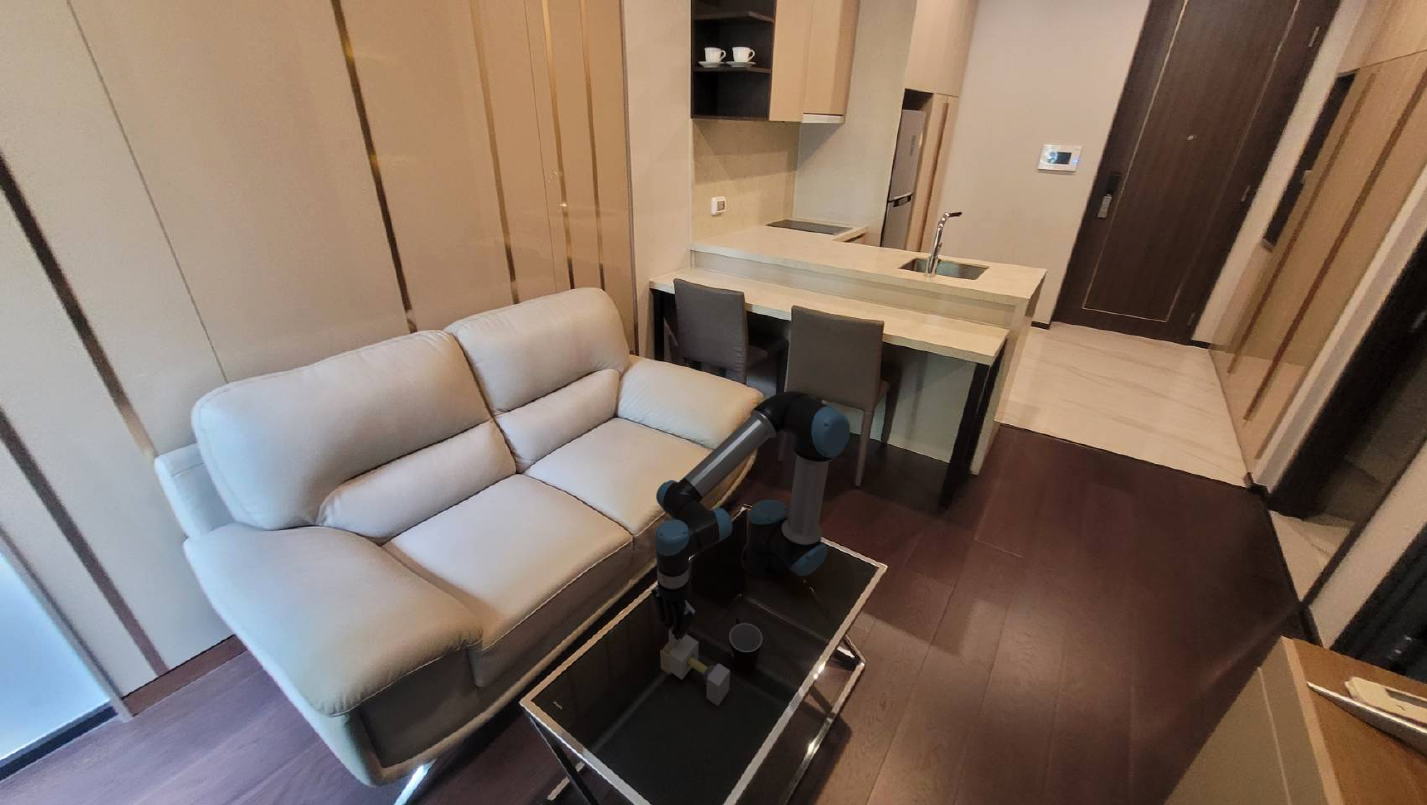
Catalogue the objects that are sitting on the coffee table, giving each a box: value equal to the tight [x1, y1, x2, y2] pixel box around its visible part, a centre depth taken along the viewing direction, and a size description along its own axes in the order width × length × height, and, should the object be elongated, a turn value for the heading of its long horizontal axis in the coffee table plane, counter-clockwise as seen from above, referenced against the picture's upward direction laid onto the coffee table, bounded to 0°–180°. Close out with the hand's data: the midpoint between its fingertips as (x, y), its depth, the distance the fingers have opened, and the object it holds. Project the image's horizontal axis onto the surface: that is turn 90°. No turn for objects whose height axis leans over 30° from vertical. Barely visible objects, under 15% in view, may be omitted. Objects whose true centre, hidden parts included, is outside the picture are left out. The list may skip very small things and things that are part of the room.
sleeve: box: [669, 633, 699, 680], centre depth 135 cm, size 4×7×7 cm, turn 145°
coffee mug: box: [728, 617, 763, 674], centre depth 139 cm, size 12×9×10 cm
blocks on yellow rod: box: [659, 638, 731, 707], centre depth 134 cm, size 18×6×8 cm, turn 55°
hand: (674, 643), depth 135 cm, fingers closed
